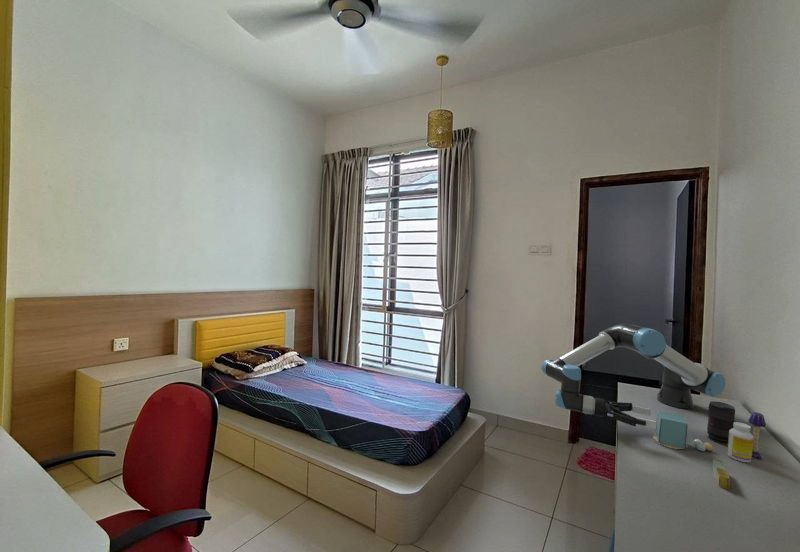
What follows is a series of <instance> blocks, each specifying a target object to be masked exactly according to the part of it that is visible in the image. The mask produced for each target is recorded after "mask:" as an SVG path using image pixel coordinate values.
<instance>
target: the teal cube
mask: <svg viewBox="0 0 800 552" xmlns="http://www.w3.org/2000/svg"><path fill="white" fill-rule="evenodd" d="M688 425H689V424H688V422H687V420H686V418H685V417H684V415H681V414H676V413H672V412H667V411H661V410H657V415H656V429H655V435H656V437H657V439H658V442H659V443H662V444H666V445H670V446H674V447H679V448H683V449H686V444H687V437H688V427H689V426H688ZM686 450H687V449H686Z"/></svg>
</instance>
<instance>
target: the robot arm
mask: <svg viewBox="0 0 800 552" xmlns="http://www.w3.org/2000/svg"><path fill="white" fill-rule="evenodd" d="M616 348H626V349H629V350H630V351H635V352H636V353H639V354H640V355H641V356H643V357H644V358H646V359H648V360H649V359H650V360H655V361H656V362H658V363H660V364H661V365H663V368H662V383H661V384H662V385H661V387H660V389H659V391H658V393H657V395H656V400H657V401H658V402H660V403H662V404H664V405H667V406H670V407H674V408H679V409H693V408H694V399H693V396H692V393H691V390H693V391H696V392H698V393H701V394H703V395H705V396H708V397H709V396H710V397H713V398H714V397H718V396H719V395H721V394H722V393H723V392H724V391H725V387H726V377H725V376H724V375H723V374H722V373H720V372H718V371H713V370H711V369H709V368H708V367H706V366H705V365H703V364H702V363H699V362H694V361H692V360H690V359H689V358H687V357H686V356H684V355H683V354H681V353H679V352H678V351H677V350H675V349H674V348H672V347H671V346H670V345H667V342H666V339H665V336H664V335H663V334H662V333H661V332H660V331H658V330H656V329H653V328H650V327H644V326H641V325H640V326H639V325H636V324H631V323H619V324H616V325H613V326H610V327H608V328H605V329H604V330H602V331H600V332H599V333H598V335H597V336H595V337H594V338H592V339H590V340H588V341H587V342H585V343H583V344H581V345H579V346H578V347H576V348H574V349H572V350H570V351H569V352H567V353H565V354H563V355H561V356H559V357H558V358H556V359H554V360H553V359H546V360H544V361H543V362H542V363H541V371H542V372H543V373H544V374H545V375H546V376H547V377H549V378H552V379H554V380H555V381H557V382H559V384H561V385H560V389H556V391H555V403H554V404H555V406H556V407H557V408H561V409H564V410H567V411H568V410H569V411H574V412H578V413H583V414H584V415H594V416H597V417H601V418H603V417H604V416H605V414H606V415H607V416H606V417H607V418H609V419H613V420H615V421H618V422H621V423H624V424H626V425H630V426H632V427H637V426H642V427H647V428H650V429H655V430H656V423H657V420H651V419H647V418H644V417H643V418H642V417H637V416H636V417H635V416H632V415H630V414H627V413H625V412H631V413H636V414H638V415H644V416H650V417H651V414H652V409H651V408H648V407H647V408H646V407H642V406H636V405H633V403H632V402H622V401H620V402H619V401H617V402H615V401H609V400H605V399H604V398H600V397H595V398H594V396H592V395H586V394H585V395H584V394H580V389H581V380H582V370H581V368H580V366H581V365H583V364H585V363H586V362H589V361H590V360H592V359H594V358H596V357H597V356H599V355H601V354H604V353H605V352H606V351H608V350H612V351H613V350H614V349H616Z"/></svg>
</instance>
